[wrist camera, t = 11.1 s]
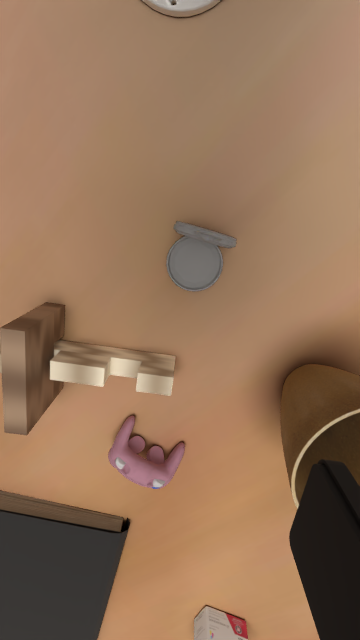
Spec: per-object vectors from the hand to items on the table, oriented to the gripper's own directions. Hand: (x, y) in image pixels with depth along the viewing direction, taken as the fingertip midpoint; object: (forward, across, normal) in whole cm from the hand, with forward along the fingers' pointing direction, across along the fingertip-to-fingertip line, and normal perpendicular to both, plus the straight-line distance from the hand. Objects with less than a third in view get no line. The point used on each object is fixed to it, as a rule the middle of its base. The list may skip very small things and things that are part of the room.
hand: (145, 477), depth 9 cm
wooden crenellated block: (+30, +10, +11) cm, 34 cm away
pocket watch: (+31, -2, -4) cm, 31 cm away
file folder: (+31, +16, +54) cm, 65 cm away
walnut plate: (+30, +15, +11) cm, 36 cm away
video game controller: (+31, +1, +24) cm, 39 cm away
